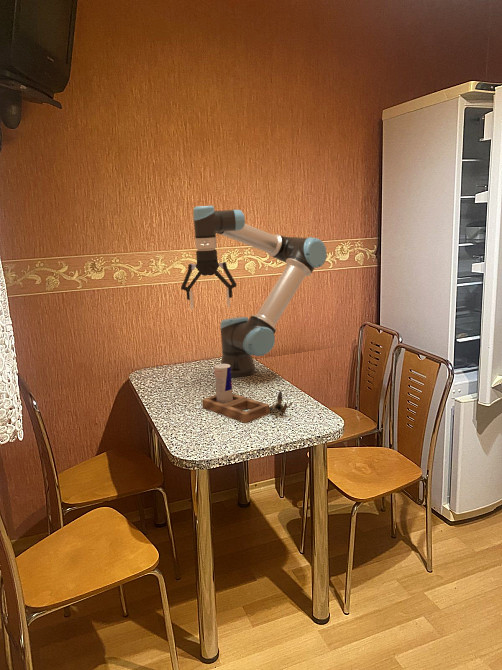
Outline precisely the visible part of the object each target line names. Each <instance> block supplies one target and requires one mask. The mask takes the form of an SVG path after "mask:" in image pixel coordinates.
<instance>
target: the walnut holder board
mask: <svg viewBox="0 0 502 670" xmlns="http://www.w3.org/2000/svg"><path fill="white" fill-rule="evenodd" d="M232 394H233V401H231V402H228V403H225V404H222V403H219V402H217V397H216V394H214V395H212V396H208V397H205V398H203V399H202V401H201V403H202V408H203V409H204V410H209V411H211V412H213V413H216V414H219V415H222V416H224V417H227V418H229V419H234V420H235V421H239V422H241V423H244V424H247V423H249V422H252V421H255V420H257V419H260V418H262V417H264V416H267V415H270V414H271V410H270V407H271V405H270V404H268V403H264V402H260V401H259V400H255V399H251V398H249V397H245V396H242V395H240V394H236V393H233V392H232ZM245 410H246V411H245Z"/></svg>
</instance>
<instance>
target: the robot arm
mask: <svg viewBox="0 0 502 670" xmlns="http://www.w3.org/2000/svg"><path fill="white" fill-rule="evenodd" d="M192 212H193V213H192V214H193V215H192V216H193V219H192V220H193V226H194V227H193V228H194V240H195V243H194V244H195V250H196V251H195V253H196V254H195V255H196V256H195V257H196V263H195V264H193V263H189V264H188V266H187V267H188V268H187V272H186V274H185V277H184V280H183V282H182V285H181V288H180V290H182V291H185V292H186V300H187V301H189V305H190V310H193V309H194V296H193V290H191V289H192V287H194V285H195V283H196V282H198V280H199V278H201V277H200V276H203V277H206V276H214V275H215V277H216V278H218V279H219V280H220V281H221V283H222V284H224V286H226V290H225V291H226V304H227V305H226V306H227V308H230V306H231V302H230V300H231V298H233V289H234V288H236V287H237V282H236V281H235V279H234V277H233V275H232V274H231V271H230V270H229V269H228V267H227V266H228V265H227V262H226V261H223V262H218V251H217V235H221V236H223V237H226V238H228V239H231V240H233V241H235V242H236V241H237V242H238V243H242V244H244V245H247V246H250V247H252V248H254V249H256V250H260V251H263V252H265V253H266V254H267V255H268V256H269V257H272V258H274V259H276V260H279V261H281V262H283V263H285V264H286V266H285V268H284V270H283V272H281V274H280V276H279V278H278V279H277V280H276V283H275V284H274V286H273V287H272V289H271V291H270V292H269V294H268V295H267V297H266V299H265V300H264V301H263V303H262V305H261V307H260V308H259V310H258V311H257V312H256V314H252V315H250V316H249V318H248V316H237V317H230V318H225V319H222V320H221V321H220V328H219V329H220V339H221V340H220V341H221V352H222V353H221V354H222V356H221V360H220V364H229V365H230V367H231V378H242V377H247V376H250V375H252V374H255V373H256V365H255V363H254V359H253V357H252V356H255V357H263V356H265V355H267V354H268V353H270V352H271V351H272V349H273V348H274V346H275V343H276V340H275V337H276V335H275V333H276V332H277V328H276V325H277V323H278V322H279V320H280V318H281V316H282V315H283V313H284V312H285V310H286V309H287V307H288V305H289V303H290V302H291V300H292V298H293V297H294V296H295V294H296V292H297V290H298V289H299V287H300V286H301V284H302V282H303V281H304V279H305V278H306V277H310V276H311V275H312V273H313V272H314V270H315V269H316V268H320V267H322V266H323V265H324V264H325V263H326V260H327V256H328V252H327V247H326V245H325V243H324V242H323V241H322V240H321V239H319V238H317V237H311V236H309V237H298V236H296V237H295V236H293V237H292V236H284V235H281V234H278V233H277V234H272V233H269V232H266V231H265V230H262V229H259V228H258V227H254V226H251V225H249V224H246V217H245V215H244V214H245V213H244V212H243V211H242V210H241V209H228V210H227V209H226V210H225V209H224V210H215V206H214V205H200V206H199V205H197V206H195V207H194V208H193V211H192ZM219 267H220V268H221V269H222V270H223V271H224V273H225V274H226V276H227V279H228V280H229V281H227V280H226V278H225V277H224V275H222V274H221V273H220V271H219V270H218V269H219ZM195 268H196V270H197V271H198V272H197V274H196V275H195V276H194V278H193V279H192V280H191V282H190V283H189V284H188V282H189V279H190V277H191V275H192V272H193V271H194V270H195ZM229 282H230V283H229ZM187 285H188V286H187Z"/></svg>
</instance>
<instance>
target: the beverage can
mask: <svg viewBox="0 0 502 670" xmlns="http://www.w3.org/2000/svg"><path fill="white" fill-rule="evenodd" d="M232 378H233V377H231V367H230V365H229V364H221V363H218V364H215V365H214V380H215V382H214V383H215V393H216V394H215V395H216V397H217V402H219V403H222V404H225V403H228V402H231V401H233V394H234V393H233V382H232V381H233V380H232ZM232 393H233V394H232Z"/></svg>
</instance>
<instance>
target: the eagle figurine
mask: <svg viewBox="0 0 502 670" xmlns="http://www.w3.org/2000/svg"><path fill="white" fill-rule="evenodd" d="M282 393H283V392H282V391H281V390H280V391H279V393H278V395H277V398H276V399H277V401H276V403H275V404H272V405H270V411H273V410H275V409H276V410H278V411H279V412H280V413H281V414H280V415H281V417H283V416H284V414H285V412H286V410H287V409H288V408H289V407H291V406H292V404H293V402H290V404H288V405H287V403H286V402H284V404H282V403H283V394H282Z"/></svg>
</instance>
